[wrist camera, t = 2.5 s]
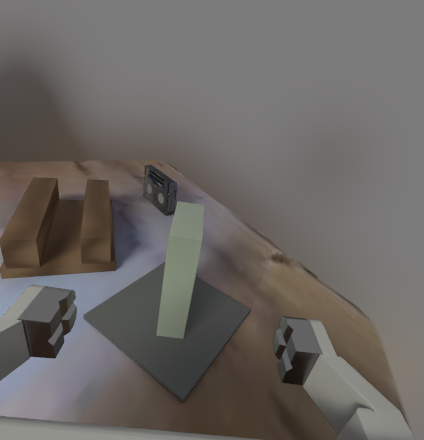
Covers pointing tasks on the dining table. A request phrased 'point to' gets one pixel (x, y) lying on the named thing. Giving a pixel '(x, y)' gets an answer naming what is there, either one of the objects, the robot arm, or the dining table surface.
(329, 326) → the dining table surface
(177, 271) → the tall sage green pillar
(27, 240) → the rack
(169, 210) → the mini dv tape
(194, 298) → the mat
